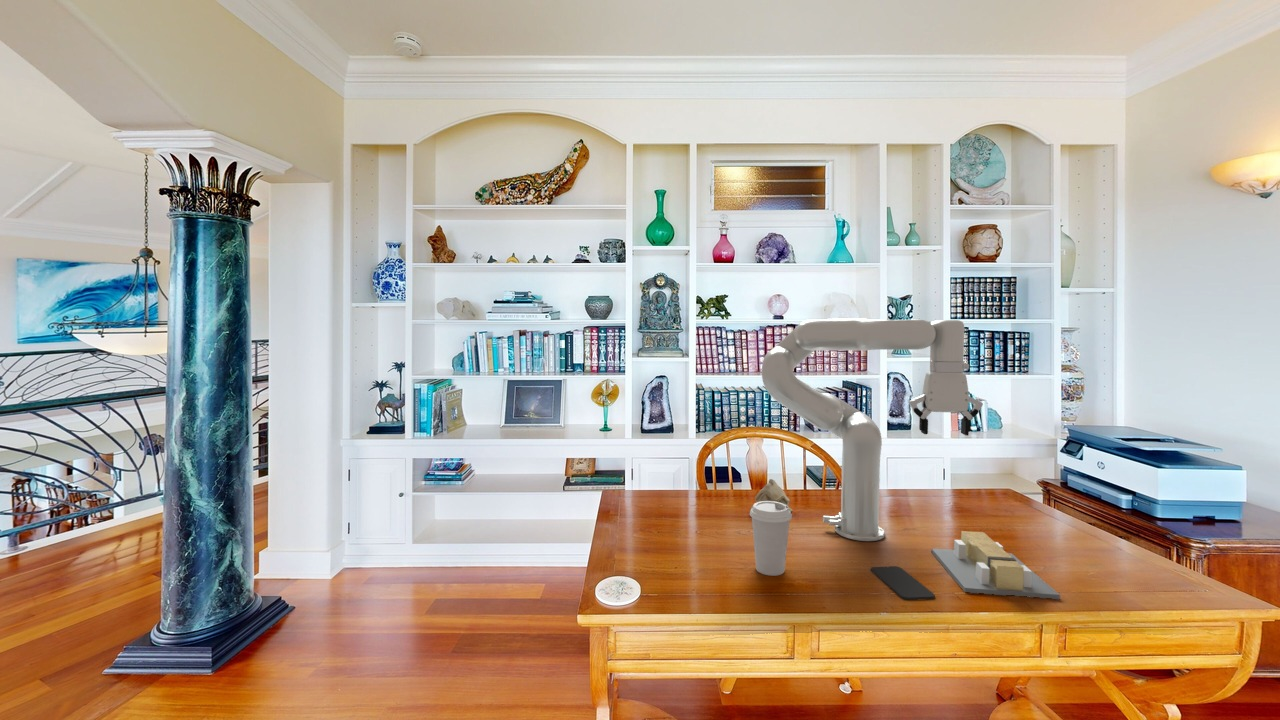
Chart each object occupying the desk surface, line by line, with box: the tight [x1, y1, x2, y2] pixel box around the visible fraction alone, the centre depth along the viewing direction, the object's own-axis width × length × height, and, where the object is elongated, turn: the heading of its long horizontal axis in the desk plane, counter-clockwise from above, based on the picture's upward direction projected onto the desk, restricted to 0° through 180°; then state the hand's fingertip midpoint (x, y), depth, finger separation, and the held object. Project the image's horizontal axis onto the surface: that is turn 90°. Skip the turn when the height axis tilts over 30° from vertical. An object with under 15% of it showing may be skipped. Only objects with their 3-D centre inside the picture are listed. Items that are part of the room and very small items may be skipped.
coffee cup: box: [749, 501, 793, 577], centre depth 129 cm, size 10×10×15 cm
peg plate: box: [931, 539, 1061, 600], centre depth 126 cm, size 18×21×4 cm
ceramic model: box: [749, 478, 793, 513], centre depth 169 cm, size 14×11×10 cm
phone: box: [870, 565, 936, 601], centre depth 122 cm, size 7×1×15 cm
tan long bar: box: [960, 530, 1024, 591], centre depth 126 cm, size 20×5×5 cm, turn 169°
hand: (944, 433), depth 144 cm, fingers open, 9 cm apart
